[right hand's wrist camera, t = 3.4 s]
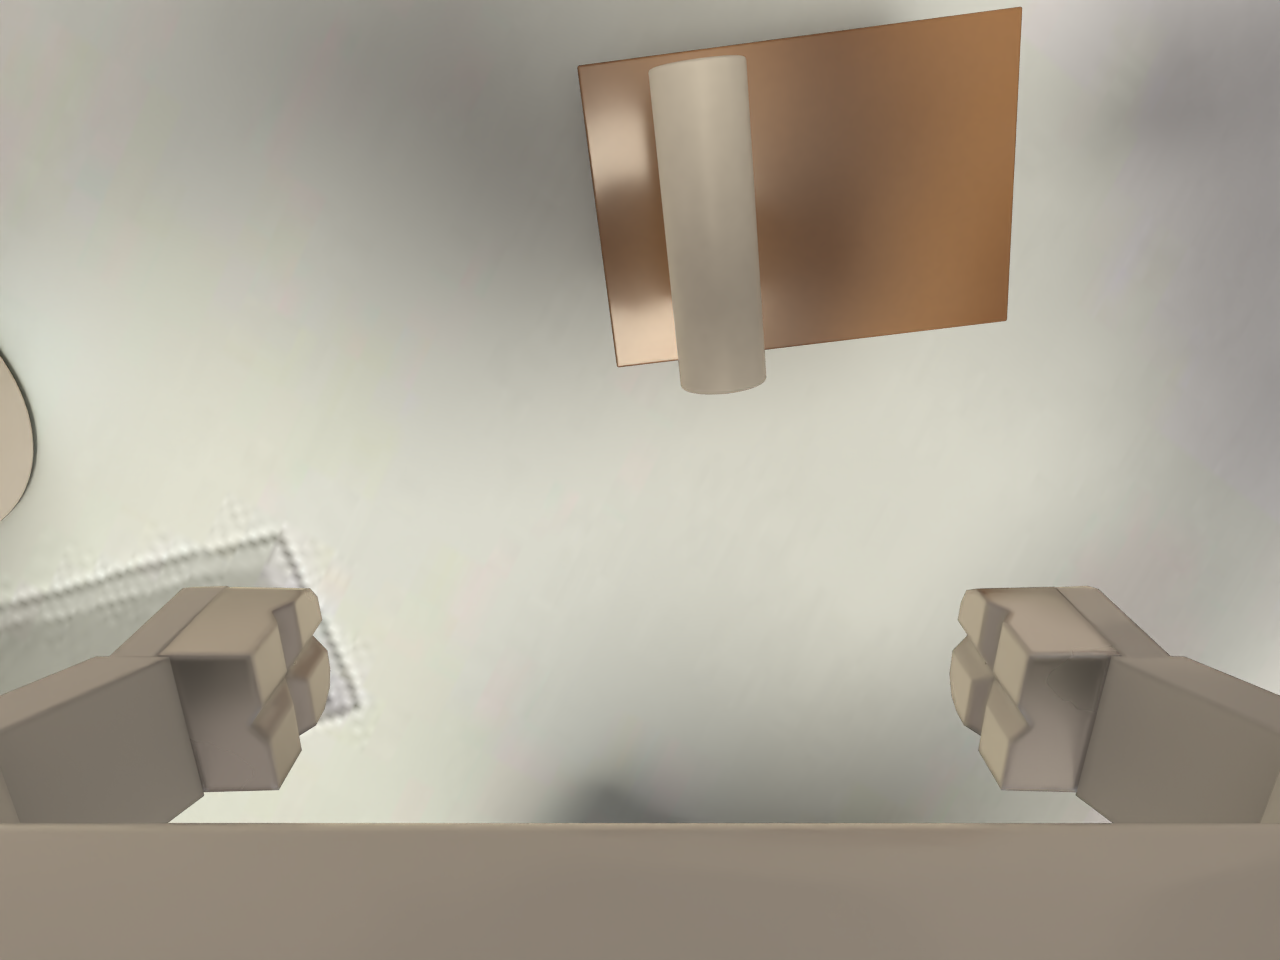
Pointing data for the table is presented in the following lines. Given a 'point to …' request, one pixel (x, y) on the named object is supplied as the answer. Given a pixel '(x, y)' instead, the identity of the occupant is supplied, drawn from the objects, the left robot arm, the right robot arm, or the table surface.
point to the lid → (804, 190)
